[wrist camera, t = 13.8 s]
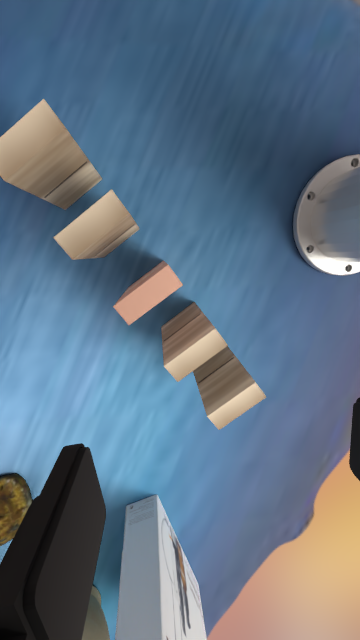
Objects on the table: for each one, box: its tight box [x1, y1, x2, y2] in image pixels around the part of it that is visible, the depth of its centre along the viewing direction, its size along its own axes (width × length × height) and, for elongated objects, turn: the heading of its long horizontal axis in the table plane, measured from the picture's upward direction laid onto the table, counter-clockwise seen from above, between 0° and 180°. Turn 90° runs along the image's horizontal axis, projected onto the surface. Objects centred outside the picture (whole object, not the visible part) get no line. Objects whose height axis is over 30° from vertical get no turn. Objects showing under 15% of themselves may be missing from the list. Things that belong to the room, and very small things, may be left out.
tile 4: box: [161, 302, 228, 382], centre depth 25 cm, size 2×5×11 cm, turn 126°
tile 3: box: [113, 260, 183, 325], centre depth 24 cm, size 2×5×11 cm, turn 126°
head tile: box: [193, 346, 266, 430], centre depth 27 cm, size 2×5×11 cm, turn 126°
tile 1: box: [0, 99, 102, 210], centre depth 21 cm, size 2×5×11 cm, turn 126°
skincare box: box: [115, 495, 207, 640], centre depth 32 cm, size 21×6×16 cm, turn 18°
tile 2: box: [53, 189, 139, 260], centre depth 22 cm, size 2×5×11 cm, turn 127°
